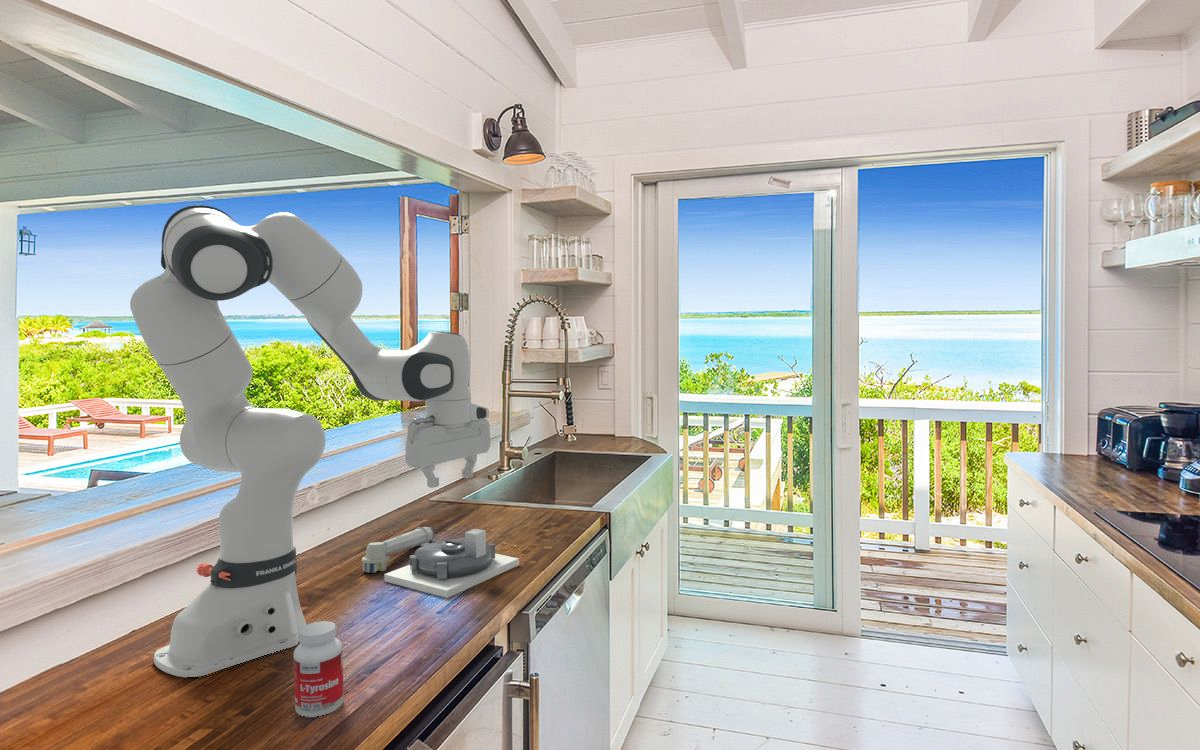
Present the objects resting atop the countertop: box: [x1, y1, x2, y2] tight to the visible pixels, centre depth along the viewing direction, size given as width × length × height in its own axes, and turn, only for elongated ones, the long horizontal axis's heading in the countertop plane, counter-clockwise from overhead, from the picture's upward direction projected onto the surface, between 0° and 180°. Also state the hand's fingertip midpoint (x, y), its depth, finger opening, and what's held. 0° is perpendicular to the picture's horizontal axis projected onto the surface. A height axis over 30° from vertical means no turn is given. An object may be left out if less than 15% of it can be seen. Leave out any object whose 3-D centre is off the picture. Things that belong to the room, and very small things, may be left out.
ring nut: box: [409, 528, 496, 579], centre depth 144 cm, size 17×17×8 cm
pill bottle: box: [293, 620, 345, 718], centre depth 92 cm, size 6×6×11 cm
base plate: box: [383, 553, 520, 599], centre depth 144 cm, size 22×18×2 cm
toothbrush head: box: [361, 526, 435, 574], centre depth 156 cm, size 5×7×25 cm
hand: (450, 482), depth 134 cm, fingers open, 8 cm apart
